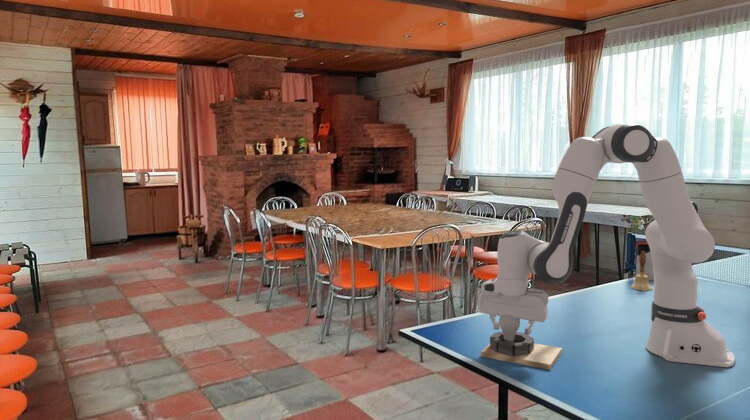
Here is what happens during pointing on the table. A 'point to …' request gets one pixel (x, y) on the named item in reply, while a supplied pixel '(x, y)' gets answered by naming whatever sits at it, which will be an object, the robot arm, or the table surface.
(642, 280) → the hand bell
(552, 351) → the socket board
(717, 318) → the table surface
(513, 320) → the lightbulb
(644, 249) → the glass holder
